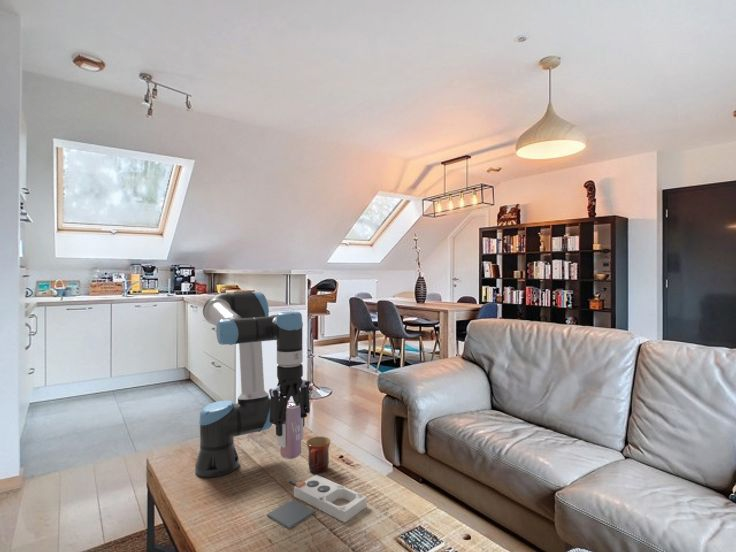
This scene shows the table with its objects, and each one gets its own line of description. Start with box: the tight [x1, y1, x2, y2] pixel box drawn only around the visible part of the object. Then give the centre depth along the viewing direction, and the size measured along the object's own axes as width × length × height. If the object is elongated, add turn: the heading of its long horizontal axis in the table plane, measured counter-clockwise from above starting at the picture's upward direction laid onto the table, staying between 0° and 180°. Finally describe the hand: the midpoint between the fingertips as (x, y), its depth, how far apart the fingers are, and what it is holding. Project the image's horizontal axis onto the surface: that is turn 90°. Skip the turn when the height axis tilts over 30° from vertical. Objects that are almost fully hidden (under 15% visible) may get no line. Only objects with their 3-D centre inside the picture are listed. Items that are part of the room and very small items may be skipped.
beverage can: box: [280, 401, 302, 460], centre depth 121 cm, size 6×6×15 cm
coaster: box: [266, 499, 316, 530], centre depth 121 cm, size 10×10×1 cm
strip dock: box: [288, 474, 368, 523], centre depth 130 cm, size 30×11×4 cm, turn 51°
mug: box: [305, 435, 331, 474], centre depth 147 cm, size 12×9×10 cm
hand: (290, 442), depth 121 cm, fingers closed on beverage can, 6 cm apart
